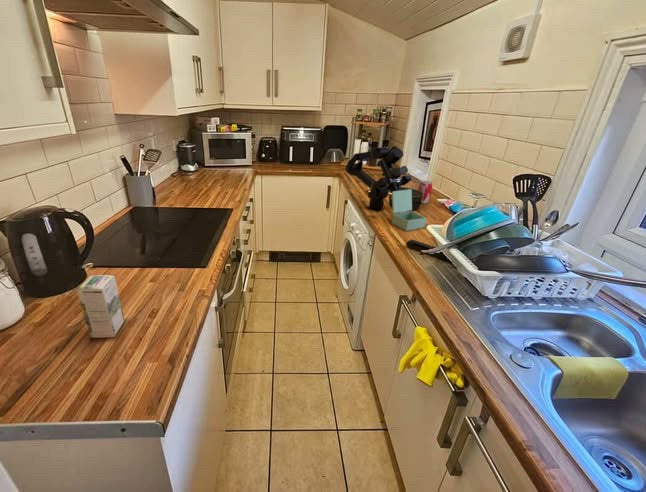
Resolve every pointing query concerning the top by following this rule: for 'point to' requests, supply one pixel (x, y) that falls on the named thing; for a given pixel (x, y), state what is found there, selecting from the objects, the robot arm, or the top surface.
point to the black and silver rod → (425, 248)
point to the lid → (402, 200)
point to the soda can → (426, 191)
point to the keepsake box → (408, 220)
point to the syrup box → (101, 306)
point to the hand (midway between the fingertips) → (400, 196)
